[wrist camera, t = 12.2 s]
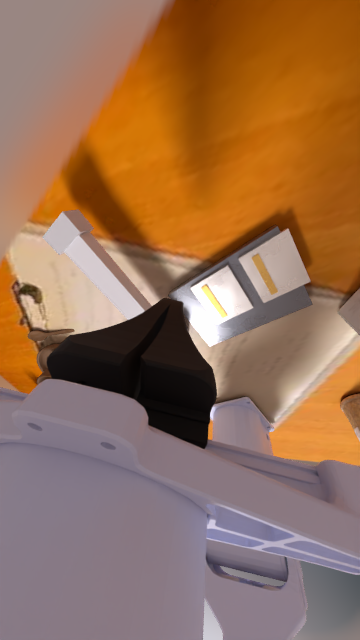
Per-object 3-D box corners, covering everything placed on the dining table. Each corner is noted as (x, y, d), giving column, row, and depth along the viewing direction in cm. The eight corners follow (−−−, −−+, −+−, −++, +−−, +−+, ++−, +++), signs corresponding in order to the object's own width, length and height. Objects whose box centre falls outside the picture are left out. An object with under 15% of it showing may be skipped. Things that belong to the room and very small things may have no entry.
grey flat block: (315, 297, 18) (324, 308, 16) (184, 352, 25) (182, 364, 23) (281, 220, 15) (289, 224, 13) (144, 308, 22) (138, 317, 20)
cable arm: (191, 346, 21) (189, 358, 19) (170, 355, 22) (166, 366, 21) (78, 209, 14) (62, 211, 13) (58, 232, 16) (42, 237, 14)
